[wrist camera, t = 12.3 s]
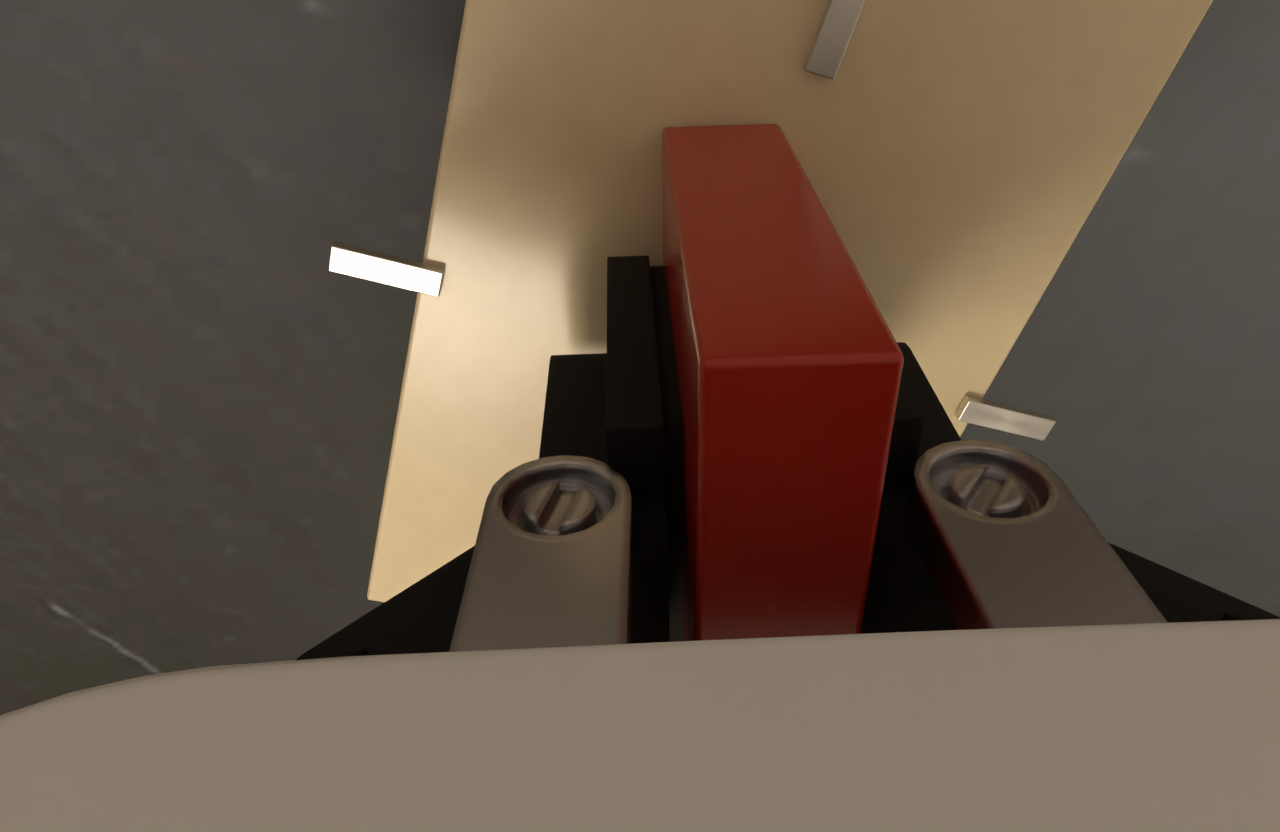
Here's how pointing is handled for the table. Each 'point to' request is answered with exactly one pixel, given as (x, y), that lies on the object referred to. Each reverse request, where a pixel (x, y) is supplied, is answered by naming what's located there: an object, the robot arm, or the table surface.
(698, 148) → the glossy red slab
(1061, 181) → the tan slotted block stand
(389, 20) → the table surface
